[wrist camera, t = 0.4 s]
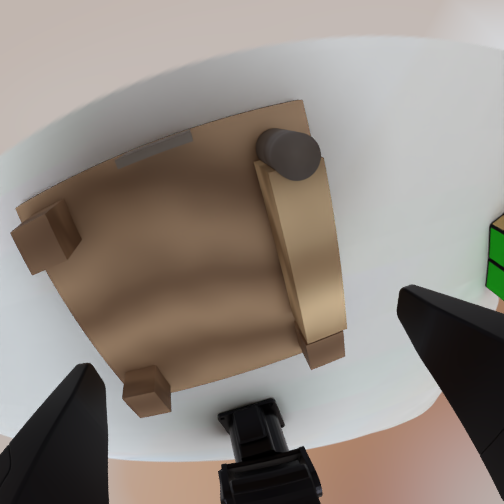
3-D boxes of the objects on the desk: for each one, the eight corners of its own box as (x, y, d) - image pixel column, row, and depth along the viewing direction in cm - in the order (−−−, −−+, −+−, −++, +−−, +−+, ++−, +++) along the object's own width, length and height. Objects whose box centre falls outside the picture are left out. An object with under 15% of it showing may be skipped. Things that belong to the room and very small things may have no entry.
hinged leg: (246, 135, 17) (262, 140, 13) (293, 122, 17) (320, 126, 13) (292, 314, 23) (310, 348, 20) (327, 301, 23) (349, 332, 20)
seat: (336, 328, 27) (356, 358, 23) (138, 390, 26) (136, 425, 22) (295, 100, 18) (322, 98, 14) (22, 203, 17) (-7, 224, 13)
